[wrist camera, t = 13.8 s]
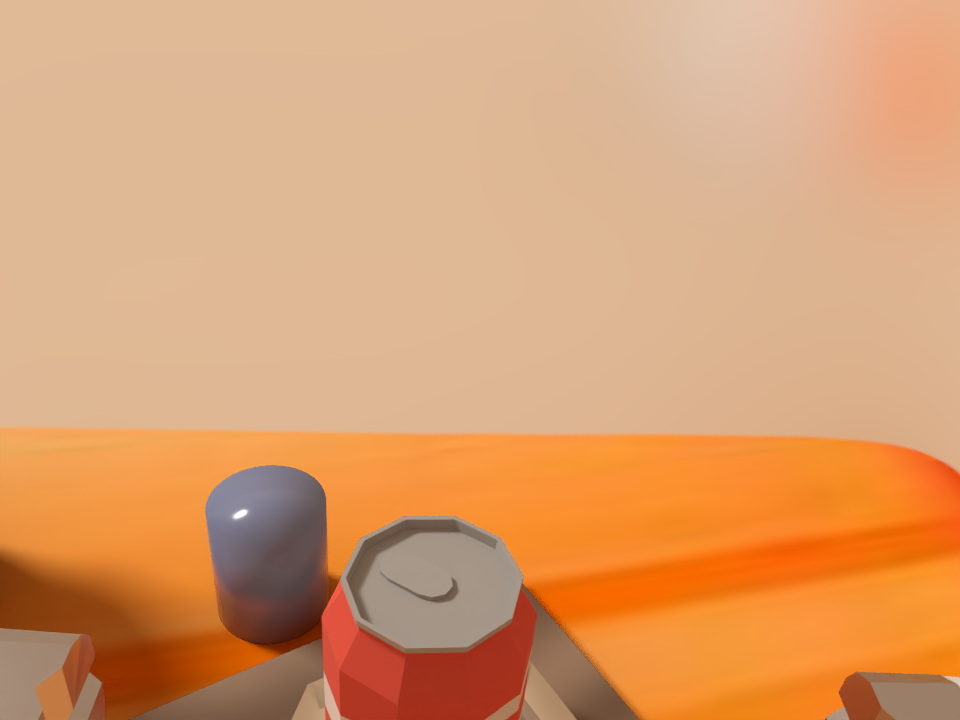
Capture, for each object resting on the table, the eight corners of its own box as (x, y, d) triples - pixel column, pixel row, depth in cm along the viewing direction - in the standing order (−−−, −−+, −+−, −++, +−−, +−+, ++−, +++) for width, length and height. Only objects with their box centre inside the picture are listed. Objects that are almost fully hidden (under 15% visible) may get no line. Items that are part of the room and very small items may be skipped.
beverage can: (396, 707, 36) (403, 477, 29) (537, 792, 33) (579, 560, 26) (293, 832, 31) (275, 593, 25) (446, 942, 28) (471, 707, 22)
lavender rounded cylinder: (203, 584, 42) (189, 486, 38) (303, 547, 44) (298, 453, 41) (240, 661, 38) (229, 561, 35) (346, 616, 41) (345, 519, 37)
